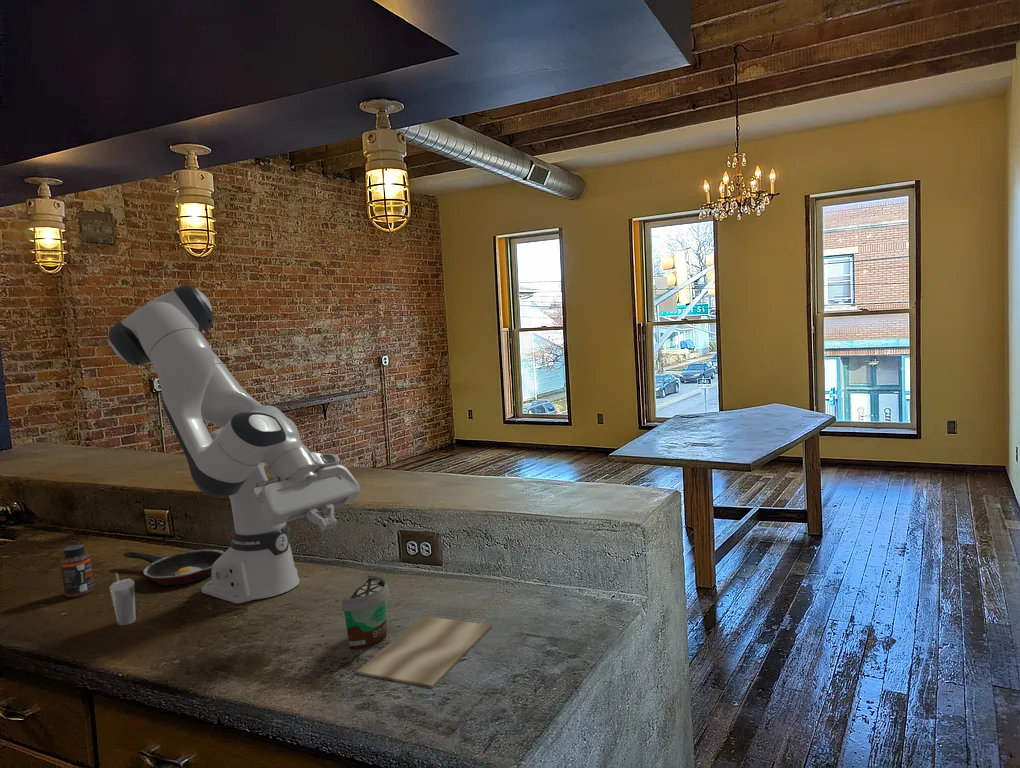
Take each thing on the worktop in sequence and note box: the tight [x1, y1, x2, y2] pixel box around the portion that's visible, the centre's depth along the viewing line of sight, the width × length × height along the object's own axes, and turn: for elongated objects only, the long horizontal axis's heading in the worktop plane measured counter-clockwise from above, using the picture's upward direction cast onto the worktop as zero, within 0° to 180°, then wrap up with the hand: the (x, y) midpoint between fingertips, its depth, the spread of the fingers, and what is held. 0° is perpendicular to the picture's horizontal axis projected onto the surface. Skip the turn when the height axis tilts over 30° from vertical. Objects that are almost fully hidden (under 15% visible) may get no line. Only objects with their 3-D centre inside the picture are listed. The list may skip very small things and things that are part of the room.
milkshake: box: [109, 572, 137, 627], centre depth 144 cm, size 4×5×10 cm
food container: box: [341, 574, 390, 651], centre depth 129 cm, size 12×6×10 cm, turn 168°
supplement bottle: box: [60, 544, 95, 598], centre depth 162 cm, size 6×6×11 cm
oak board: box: [355, 615, 493, 689], centre depth 123 cm, size 15×22×1 cm
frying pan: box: [122, 549, 226, 586], centre depth 173 cm, size 19×32×4 cm, turn 65°
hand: (330, 527), depth 133 cm, fingers closed
